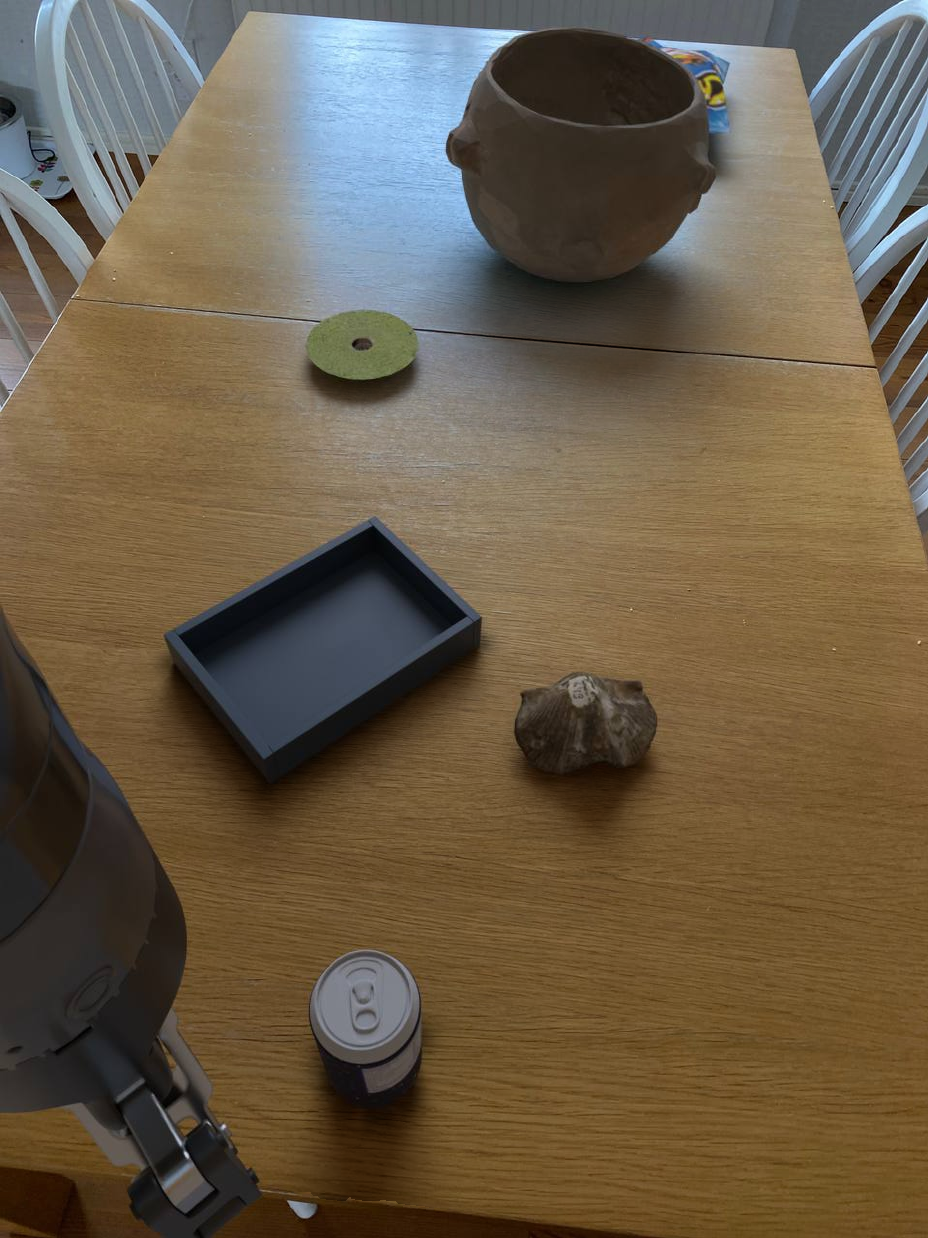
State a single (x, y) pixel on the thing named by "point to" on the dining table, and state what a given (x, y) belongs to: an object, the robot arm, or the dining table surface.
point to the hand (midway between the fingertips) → (149, 1068)
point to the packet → (705, 81)
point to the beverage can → (368, 1027)
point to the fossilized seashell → (585, 723)
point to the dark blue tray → (323, 645)
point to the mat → (362, 344)
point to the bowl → (581, 152)
